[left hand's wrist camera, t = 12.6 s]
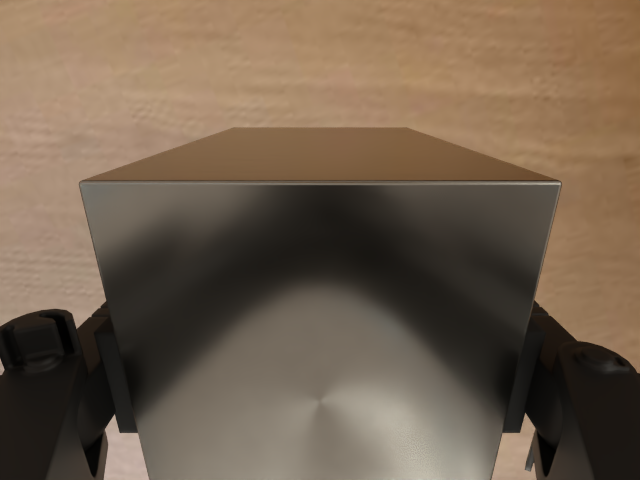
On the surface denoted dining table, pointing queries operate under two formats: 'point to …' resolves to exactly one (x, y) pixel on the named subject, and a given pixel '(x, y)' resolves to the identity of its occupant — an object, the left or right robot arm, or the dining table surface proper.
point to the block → (320, 301)
